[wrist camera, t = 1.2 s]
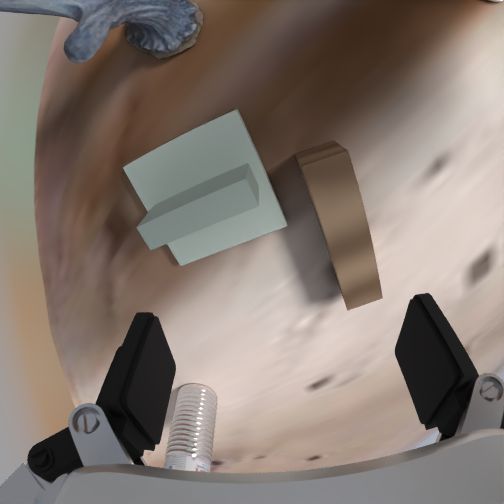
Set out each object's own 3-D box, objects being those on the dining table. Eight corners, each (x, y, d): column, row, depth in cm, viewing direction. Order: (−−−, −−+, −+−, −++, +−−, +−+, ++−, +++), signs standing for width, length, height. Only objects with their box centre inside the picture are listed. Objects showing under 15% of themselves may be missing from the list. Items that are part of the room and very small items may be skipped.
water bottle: (178, 378, 45) (151, 523, 23) (220, 386, 45) (206, 533, 24) (178, 399, 48) (155, 527, 27) (216, 405, 49) (202, 535, 27)
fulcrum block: (237, 108, 25) (231, 114, 19) (286, 219, 30) (292, 252, 25) (128, 163, 28) (99, 184, 22) (183, 258, 33) (169, 295, 27)
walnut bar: (294, 153, 27) (301, 166, 23) (333, 140, 26) (347, 150, 22) (337, 282, 35) (347, 310, 30) (369, 271, 34) (382, 298, 29)
